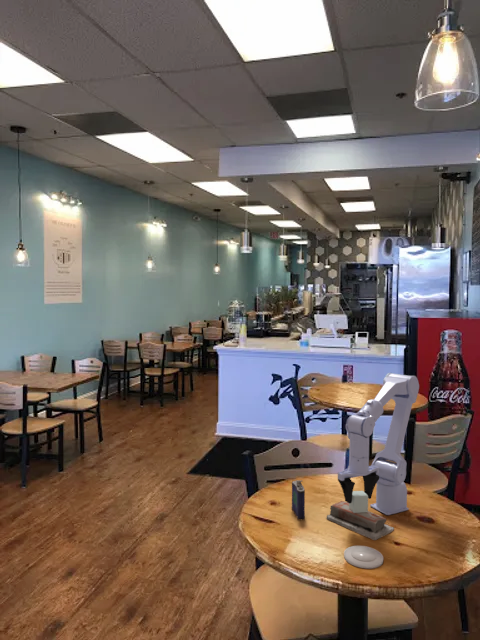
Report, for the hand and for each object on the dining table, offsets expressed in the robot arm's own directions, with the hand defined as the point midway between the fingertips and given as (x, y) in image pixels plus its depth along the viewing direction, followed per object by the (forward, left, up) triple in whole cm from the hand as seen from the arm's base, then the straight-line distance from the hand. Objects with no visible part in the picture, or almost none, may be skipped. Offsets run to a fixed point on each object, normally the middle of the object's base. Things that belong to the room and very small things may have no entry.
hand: (358, 499), depth 148 cm
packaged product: (0, 0, -8) cm, 8 cm away
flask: (+12, -14, -8) cm, 20 cm away
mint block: (0, 0, -3) cm, 3 cm away
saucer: (+12, +16, -7) cm, 21 cm away
